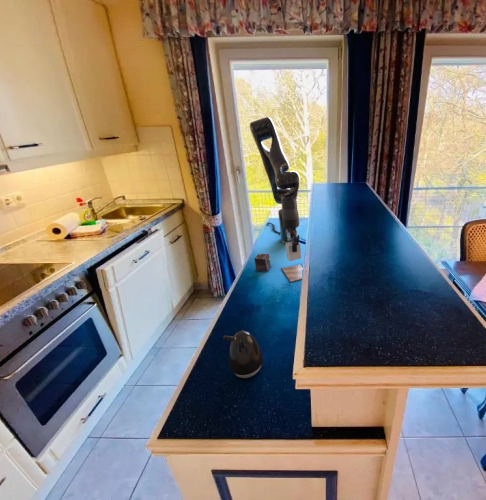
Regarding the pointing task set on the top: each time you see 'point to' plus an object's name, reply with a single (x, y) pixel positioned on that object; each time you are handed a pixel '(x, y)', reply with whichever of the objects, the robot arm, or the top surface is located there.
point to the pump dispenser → (244, 354)
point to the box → (262, 262)
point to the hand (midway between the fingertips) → (293, 249)
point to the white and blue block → (290, 254)
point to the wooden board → (293, 272)
